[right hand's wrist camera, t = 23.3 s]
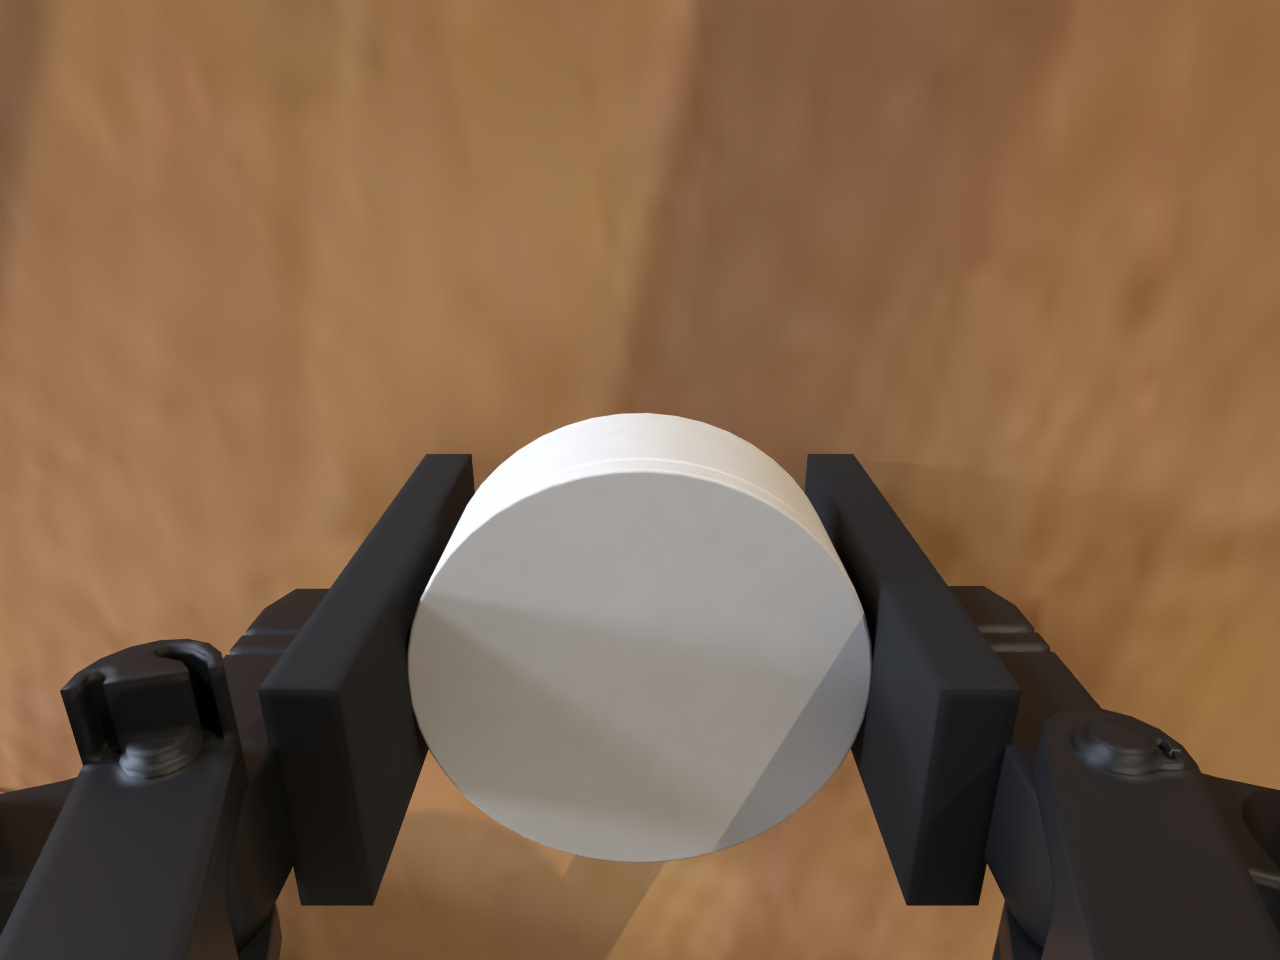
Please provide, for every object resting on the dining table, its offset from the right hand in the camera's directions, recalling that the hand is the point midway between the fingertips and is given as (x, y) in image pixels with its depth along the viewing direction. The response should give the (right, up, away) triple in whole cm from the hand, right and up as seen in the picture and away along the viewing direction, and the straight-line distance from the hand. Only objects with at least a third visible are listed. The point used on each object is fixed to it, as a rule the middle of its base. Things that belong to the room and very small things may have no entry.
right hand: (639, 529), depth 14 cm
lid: (0, -1, -4) cm, 4 cm away
